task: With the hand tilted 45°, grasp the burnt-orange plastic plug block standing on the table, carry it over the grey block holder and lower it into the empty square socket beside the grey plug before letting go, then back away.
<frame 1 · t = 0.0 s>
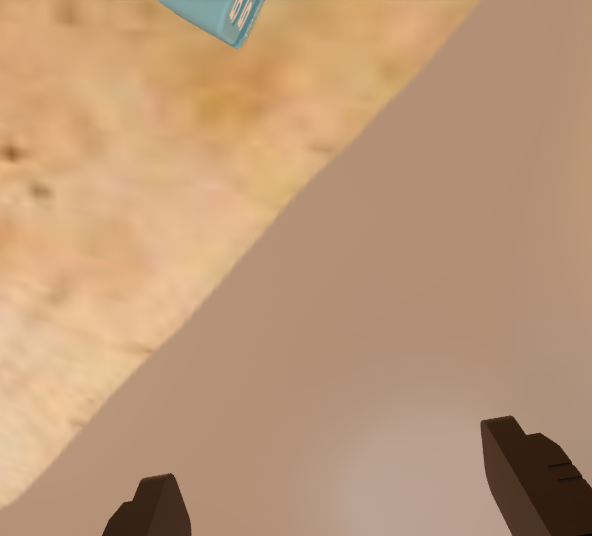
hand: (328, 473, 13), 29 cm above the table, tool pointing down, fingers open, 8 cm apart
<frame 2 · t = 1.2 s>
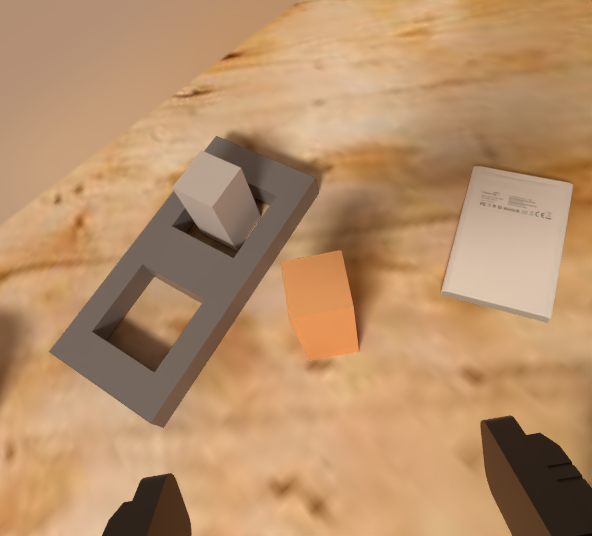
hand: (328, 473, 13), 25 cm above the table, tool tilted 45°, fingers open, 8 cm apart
grey block holder: (197, 273, 44), on the table
external hard drive: (505, 245, 42), on the table
plug: (329, 332, 40), on the table
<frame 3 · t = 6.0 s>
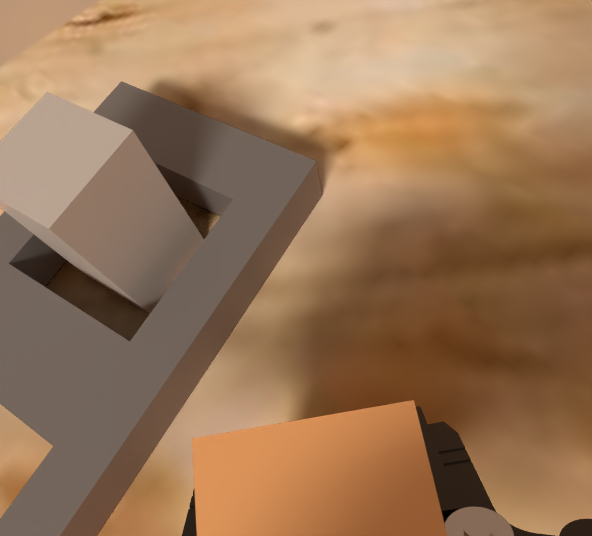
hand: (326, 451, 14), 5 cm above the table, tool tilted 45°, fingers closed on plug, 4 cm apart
grey block holder: (66, 362, 21), on the table
plug: (349, 524, 17), on the table, touching gripper
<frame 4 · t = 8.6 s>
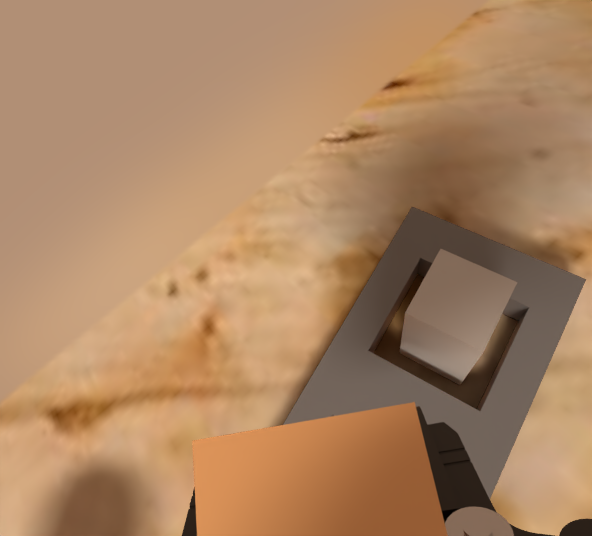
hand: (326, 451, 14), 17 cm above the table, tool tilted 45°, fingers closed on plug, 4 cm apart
grey block holder: (402, 419, 30), on the table
plug: (349, 525, 17), point 12 cm above the table, touching gripper
when the fingers open (6 cm above the table, at t = 11.5 s): plug drops 1 cm, resting in grey block holder.
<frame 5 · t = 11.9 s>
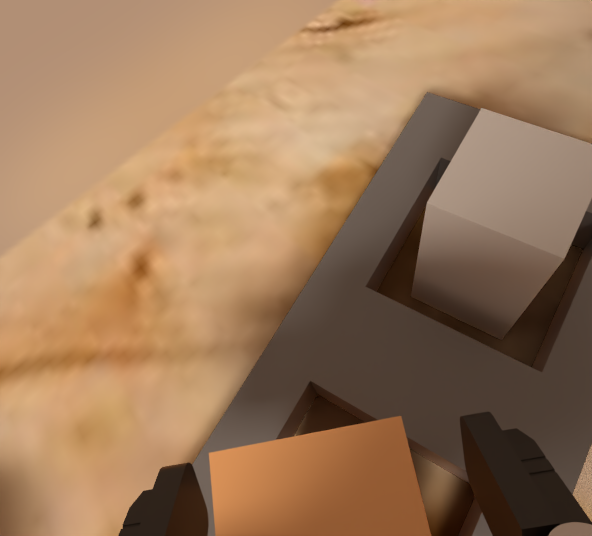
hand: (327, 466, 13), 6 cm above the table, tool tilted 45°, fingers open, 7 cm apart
grey block holder: (417, 390, 20), on the table
plug: (348, 524, 18), resting in grey block holder
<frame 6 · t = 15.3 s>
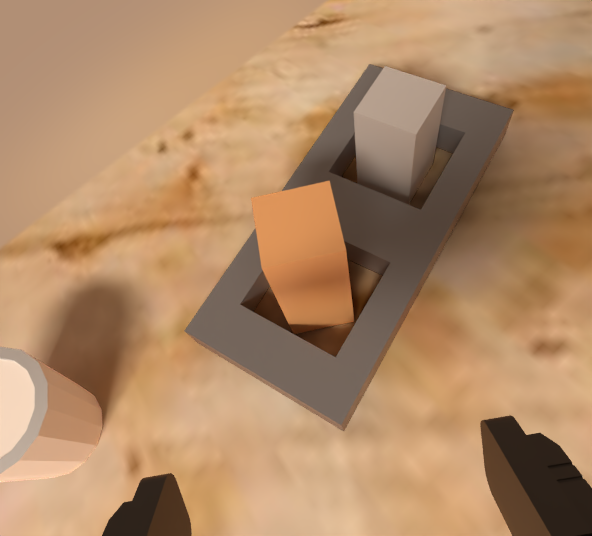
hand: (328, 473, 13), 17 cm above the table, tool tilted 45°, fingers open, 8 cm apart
grey block holder: (358, 233, 35), on the table
shot glass: (62, 429, 32), on the table
plug: (318, 299, 33), resting in grey block holder
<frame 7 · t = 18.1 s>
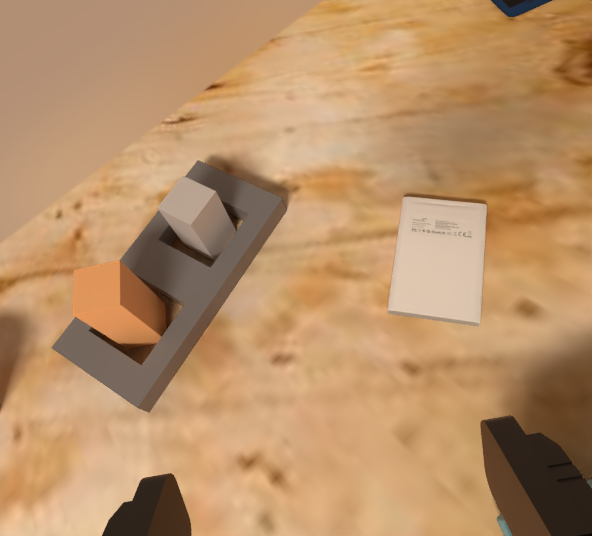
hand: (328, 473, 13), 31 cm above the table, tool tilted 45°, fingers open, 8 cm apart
grey block holder: (180, 280, 51), on the table
external hard drive: (437, 262, 49), on the table
plug: (147, 326, 49), resting in grey block holder
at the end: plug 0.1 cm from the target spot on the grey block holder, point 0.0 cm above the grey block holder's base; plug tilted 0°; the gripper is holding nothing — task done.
